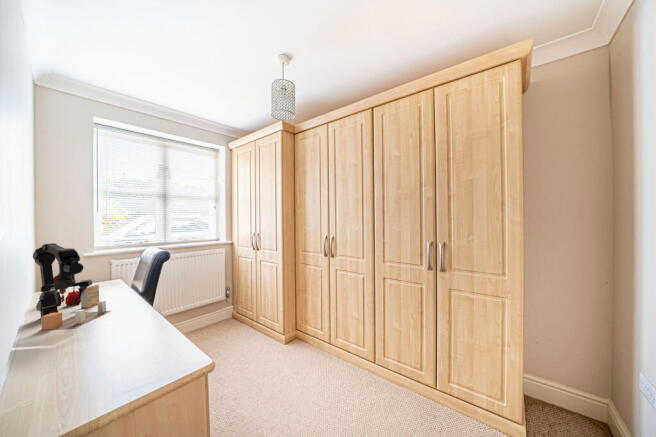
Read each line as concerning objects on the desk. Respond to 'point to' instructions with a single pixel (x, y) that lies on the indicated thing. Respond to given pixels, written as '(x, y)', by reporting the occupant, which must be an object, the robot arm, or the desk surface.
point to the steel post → (101, 306)
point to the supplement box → (90, 296)
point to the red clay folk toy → (72, 298)
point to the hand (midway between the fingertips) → (68, 301)
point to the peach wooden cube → (51, 321)
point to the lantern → (60, 289)
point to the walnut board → (71, 323)
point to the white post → (80, 316)
